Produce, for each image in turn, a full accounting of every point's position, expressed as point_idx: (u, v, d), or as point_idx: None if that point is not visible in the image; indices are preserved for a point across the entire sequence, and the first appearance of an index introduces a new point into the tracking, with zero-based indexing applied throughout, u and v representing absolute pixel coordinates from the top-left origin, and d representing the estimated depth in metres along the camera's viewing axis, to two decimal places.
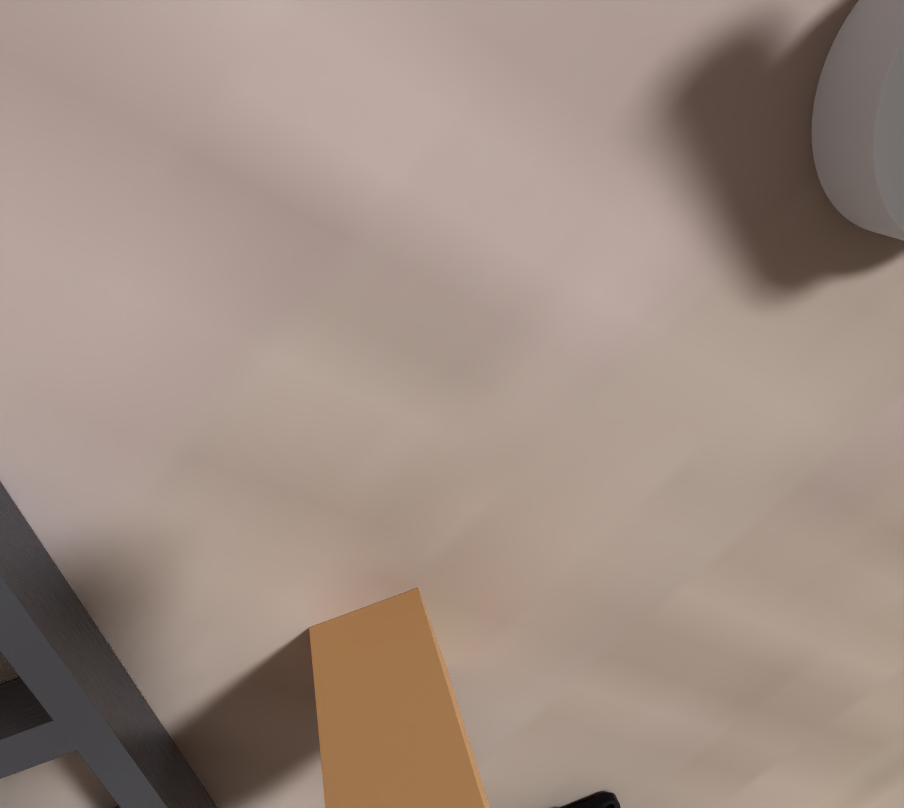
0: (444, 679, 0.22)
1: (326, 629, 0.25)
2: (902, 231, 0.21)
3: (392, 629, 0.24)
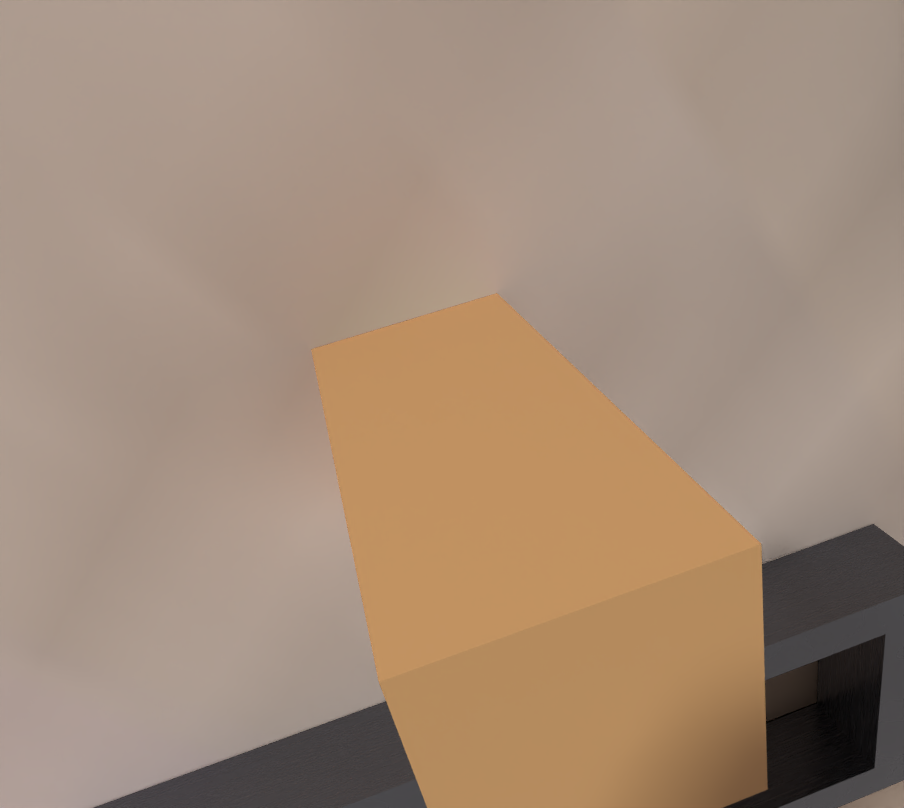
0: (332, 449, 0.11)
1: None
2: None
3: None
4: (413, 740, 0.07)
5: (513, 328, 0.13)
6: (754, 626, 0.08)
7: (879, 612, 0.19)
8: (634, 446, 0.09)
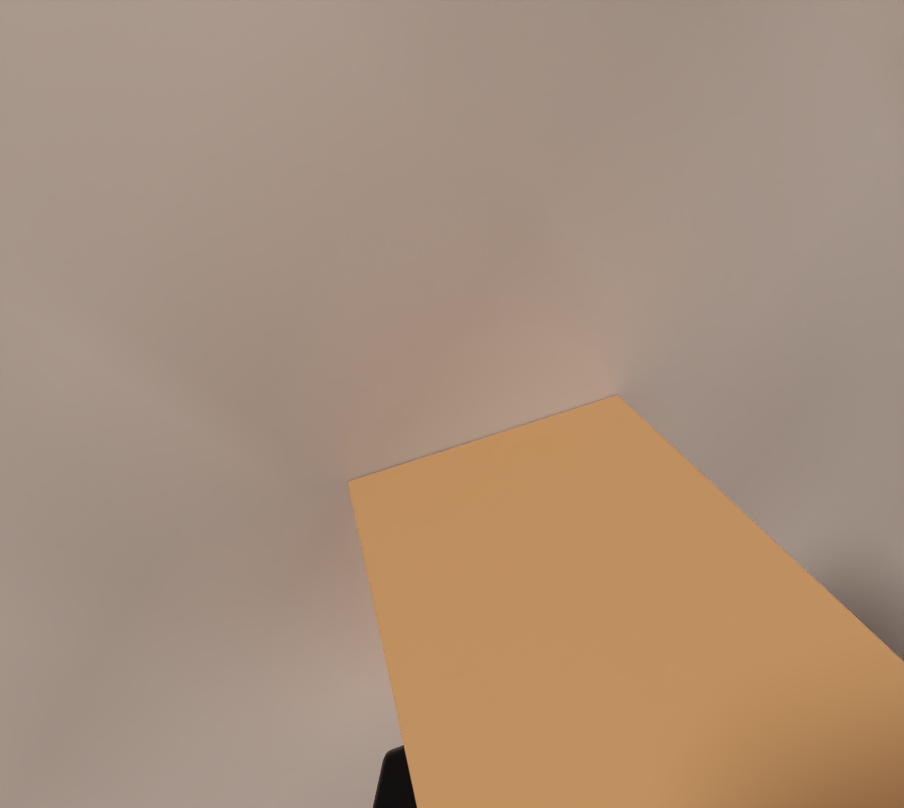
0: (404, 741, 0.06)
1: None
2: None
3: None
4: None
5: (667, 471, 0.09)
6: None
7: None
8: None
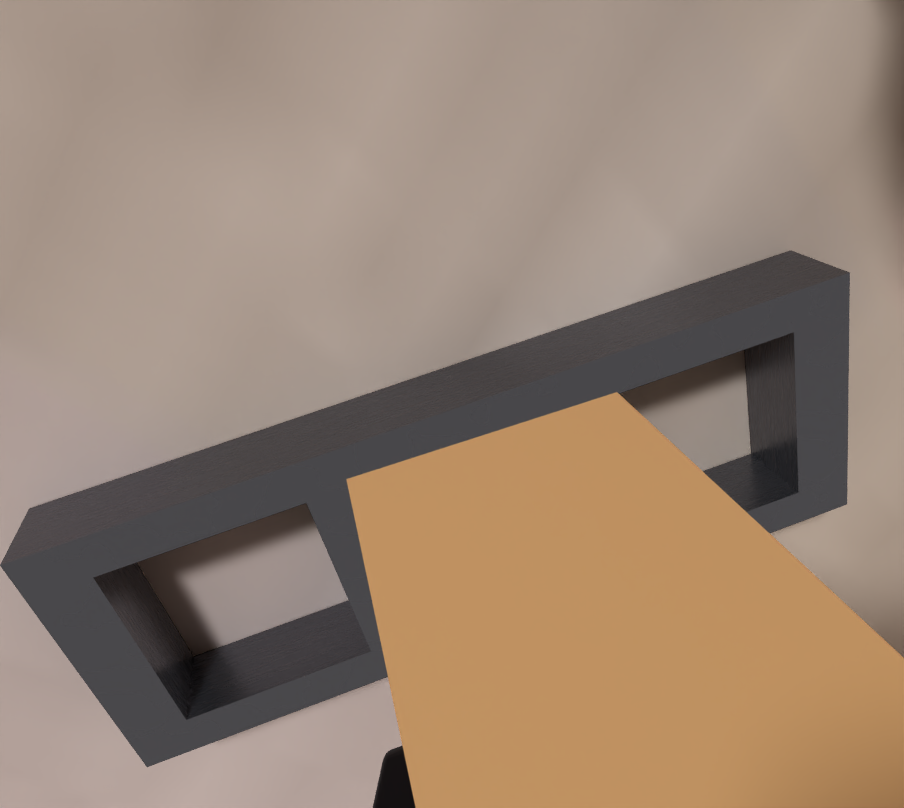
0: (402, 738, 0.06)
1: None
2: None
3: None
4: None
5: (666, 468, 0.09)
6: None
7: (785, 305, 0.20)
8: None
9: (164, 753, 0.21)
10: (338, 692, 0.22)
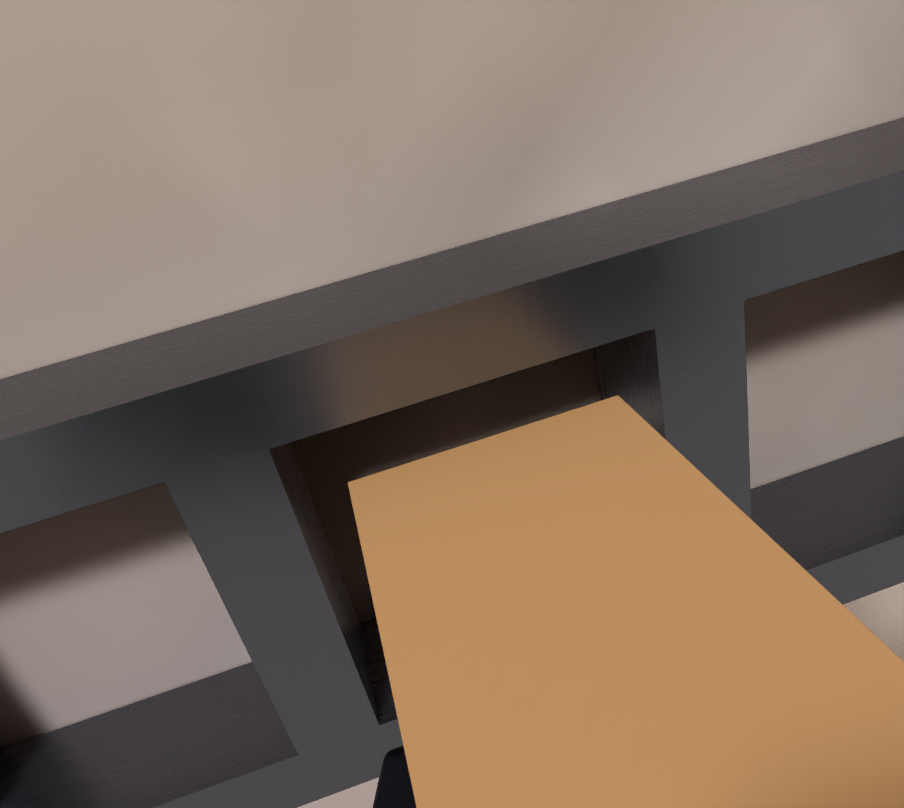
0: (404, 743, 0.06)
1: None
2: None
3: None
4: None
5: (667, 471, 0.09)
6: None
7: None
8: None
9: None
10: None
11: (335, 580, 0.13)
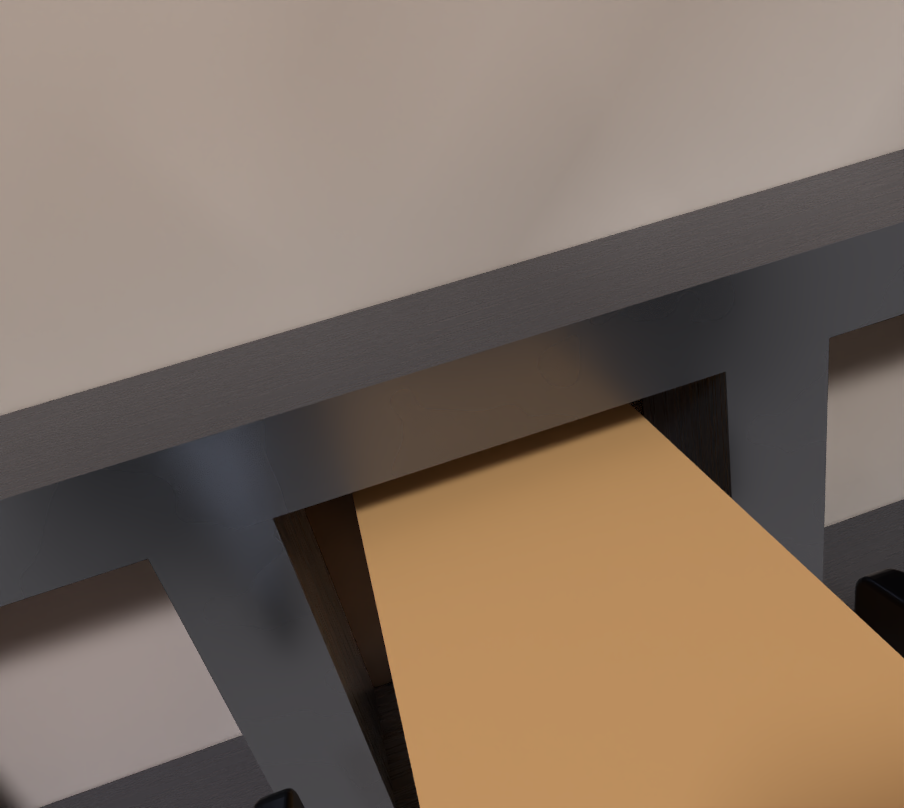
0: (388, 655, 0.07)
1: None
2: None
3: None
4: None
5: (631, 432, 0.09)
6: None
7: None
8: None
9: None
10: None
11: (347, 649, 0.11)
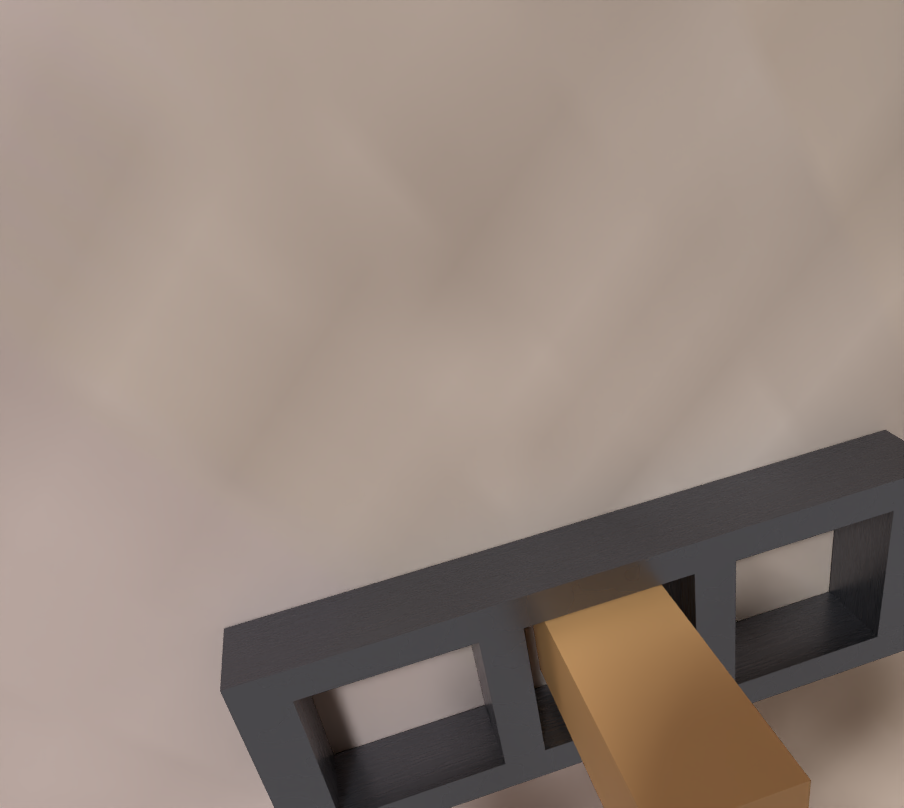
0: (575, 682, 0.21)
1: (542, 665, 0.26)
2: None
3: (546, 643, 0.24)
4: None
5: (656, 591, 0.23)
6: None
7: (890, 490, 0.23)
8: (744, 707, 0.19)
9: None
10: (471, 797, 0.24)
11: None
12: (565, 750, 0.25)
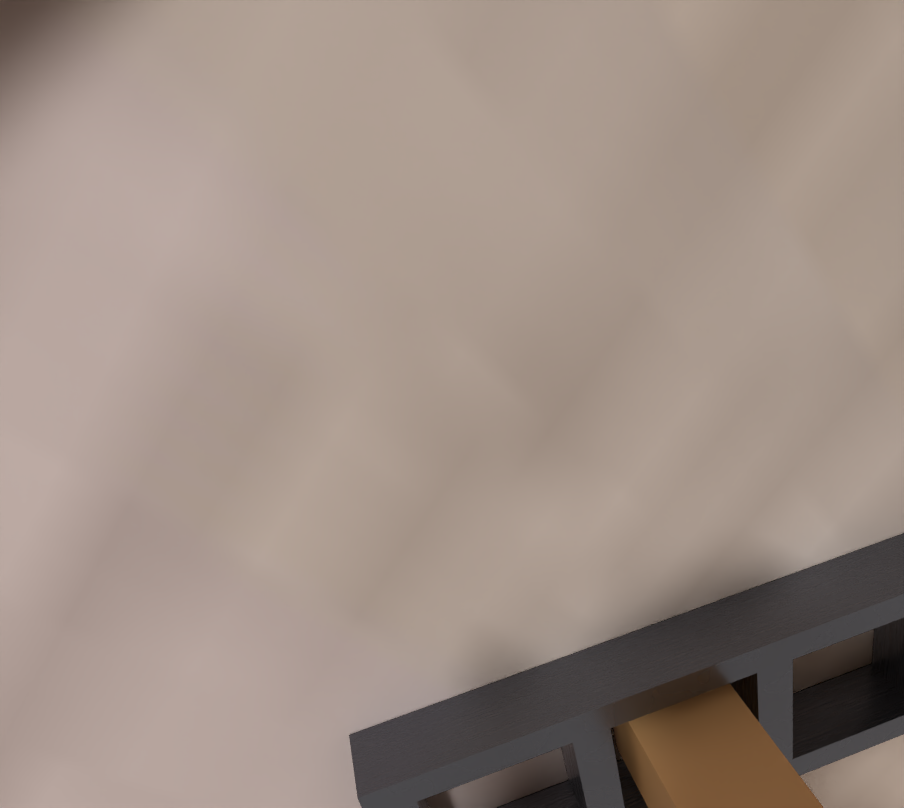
0: (659, 778, 0.24)
1: (619, 745, 0.29)
2: None
3: (626, 733, 0.27)
4: None
5: (722, 687, 0.26)
6: None
7: None
8: (810, 803, 0.22)
9: None
10: None
11: None
12: None
